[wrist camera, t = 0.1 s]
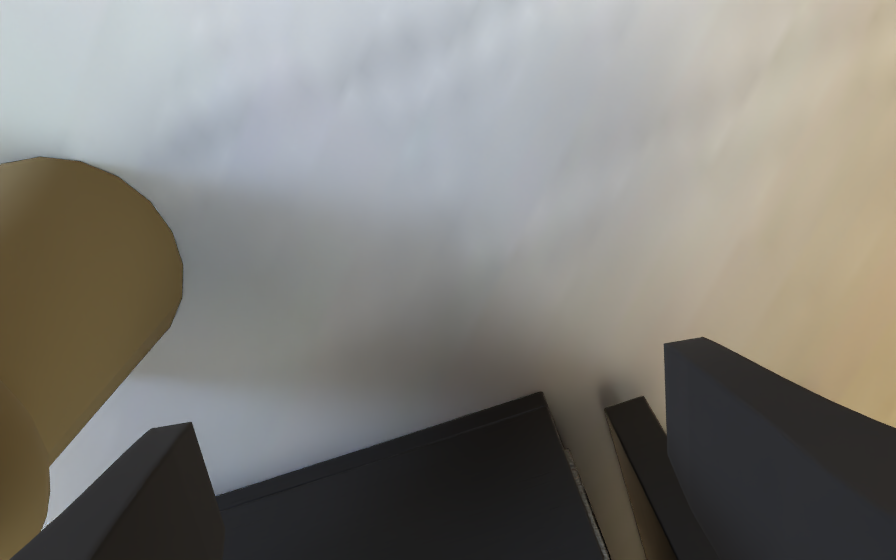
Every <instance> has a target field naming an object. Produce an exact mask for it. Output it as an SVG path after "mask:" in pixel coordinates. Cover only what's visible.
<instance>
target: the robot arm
mask: <svg viewBox="0 0 896 560" xmlns="http://www.w3.org/2000/svg"><path fill="white" fill-rule="evenodd" d="M664 364H665V395H666V426H667V454H668V457H669V459H670V462H671V464H672V467H673V469H674V472H675V474H676V477H677V479H678V482H679V484H680V486H681V489H682V491H683V493H684V496H685V498H686V500H687V503H688V505H689V507H690V509H691V511H692V513H693V515H694V516H695V518H696V520H697V522H698V523H699V525H700V527H701V529H702V530H703V532H704V534H705V535H706V537H707V539H708V541H709V542H710V544H711V546H712V547H713V549H714V551H715V553H716V554H717V556H718V558H719V559H720V560H896V428H894V427H891V426H889V425H886V424H884V423H881V422H879V421H876V420H874V419H871V418H869V417H867V416H864V415H862V414H860V413H858V412H855V411H853V410H851V409H848V408H846V407H844V406H841V405H839V404H837V403H835V402H832V401H830V400H828V399H826V398H824V397H822V396H820V395H818V394H815V393H813V392H811V391H809V390H807V389H805V388H803V387H801V386H799V385H797V384H795V383H793V382H791V381H789V380H787V379H785V378H783V377H781V376H779V375H777V374H775V373H774V372H772V371H770V370H768V369H766V368H764V367H762V366H760V365H758V364H756V363H754V362H753V361H751V360H749V359H747V358H745V357H743V356H741V355H739V354H737V353H735V352H733V351H732V350H730V349H728V348H726V347H724V346H722V345H720V344H718V343H716V342H713V341H711V340H709V339H707V338H704V337H701V338H695V339H689V340H683V341H677V342H671V343H665V344H664ZM224 540H225V526H224V523H223V520H222V517H221V513H220V510H219V507H218V504H217V501H216V498H215V494H214V491H213V488H212V485H211V482H210V479H209V475H208V472H207V469H206V466H205V463H204V460H203V456H202V453H201V450H200V447H199V444H198V441H197V437H196V434H195V431H194V428H193V425H192V422H188V423H182V424H176V425H170V426H164V427H158V428H152V429H150V430H149V431H148V432H146V433H145V434H144V435H143V436H142V437H141V438H139V439H138V440H137V441H136V442H135V443H134V444H133V445H132V446H131V447H130V448H129V449H128V450H127V451H126V452H124V453H123V454H122V455H121V456H120V457H119V458H118V459H117V460H116V461H115V462H114V463H113V464H112V465H111V466H110V467H109V468H108V469H107V470H106V471H105V472H104V473H103V474H102V475H101V476H100V477H99V478H98V479H97V480H96V481H95V482H94V483H93V484H92V485H91V486H89V487H88V488H87V489H86V490H85V491H84V492H83V493H82V494H81V495H80V496H79V497H78V498H77V499H76V500H75V501H74V502H73V503H72V504H71V505H70V506H69V507H68V508H67V509H66V510H64V511H63V512H62V513H61V514H60V515H59V516H58V517H57V518H56V519H55V520H53V521H52V522H51V523H50V524H49V525H48V526H47V527H46V528H44V529H43V530H42V531H41V532H40V533H39V534H38V535H37V536H35V537H34V538H33V539H32V540H31V541H30V542H29V543H27V544H26V545H25V546H24V547H23V548H22V549H21V550H20V551H18V552H17V553H16V554H15V555H14V556H13V557H12V558H11V559H9V560H223V551H224Z"/></svg>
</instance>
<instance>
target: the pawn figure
mask: <svg viewBox="0 0 896 560" xmlns="http://www.w3.org/2000/svg"><path fill="white" fill-rule="evenodd" d="M182 284H183V264H182V261H181V258H180V255H179V252H178V249H177V245H176V242H175V239H174V236H173V233H172V231H171V230H170V228H169V227H168V226H167V224H166V223H165V222H164V220H163V219H162V217H161V216H160V215H159V213H158V212H157V211H156V209H155V208H154V206H153V205H152V204H151V202H150V201H149V200H147V199H146V198H145V197H143V196H142V195H141V194H140V193H138V192H137V191H136V190H134V189H133V188H132V187H131V186H129V185H128V184H127V183H125V182H124V181H123V180H122V179H120V178H119V177H117V176H115V175H112V174H110V173H107V172H105V171H103V170H100V169H98V168H95V167H93V166H90V165H88V164H85V163H83V162H81V161H72V160H63V159H55V158H46V157H36V158H31V159H26V160H20V161H15V162H10V163H4V164H1V165H0V560H9V559H11V558H12V557H13V556H14V555H15V554H16V553H17V552H18V551H20V550H21V549H22V548H23V547H24V546H25V545H26V544H27V543H29V542H30V541H31V540H32V539H33V538H34V537H35V536H37V535H38V534H39V533H40V532H41V529H42V527H43V524H44V522H45V519H46V516H47V511H48V504H49V496H50V477H49V467H50V465H51V464H52V463H53V462H54V461H55V460H56V458H57V457H58V456H59V455H60V454H61V453H62V452H63V450H64V449H65V448H66V447H67V446H68V445H69V443H70V442H71V441H72V440H73V439H74V438H75V436H76V435H77V434H78V433H79V432H80V431H81V429H82V428H83V427H84V426H85V425H86V424H87V423H88V421H89V420H90V419H91V418H92V417H93V416H94V414H95V413H96V412H97V411H98V410H99V409H100V407H101V406H102V405H103V404H104V403H105V402H106V401H107V399H108V398H109V397H110V396H111V395H112V394H113V392H114V391H115V390H116V389H117V388H118V387H119V385H120V384H121V383H122V382H123V381H124V380H125V379H126V377H127V376H128V375H129V374H130V373H131V372H132V370H133V369H134V368H135V367H136V366H137V365H138V363H139V362H140V361H141V360H142V359H143V358H144V356H145V355H146V354H147V353H148V352H149V351H150V350H151V348H152V347H153V346H154V345H155V344H156V343H157V341H158V340H159V339H160V338H161V337H162V336H163V334H164V333H165V332H166V331H167V330H168V329H169V328H170V326H171V324H172V321H173V319H174V316H175V314H176V311H177V309H178V307H179V304H180V302H181V299H182Z"/></svg>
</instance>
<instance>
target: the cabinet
mask: <svg viewBox="0 0 896 560" xmlns="http://www.w3.org/2000/svg"><path fill="white" fill-rule="evenodd" d="M215 498H216V501H217V504H218V507H219V510H220V513H221V517H222V520H223V523H224V526H225V540H224V551H223V560H605V558H604V556H603V553H602V550H601V548H600V545H599V542H598V540H597V537H596V534H595V532H594V529H593V526H592V524H591V521H590V518H589V515H588V513H587V510H586V507H585V505H584V502H583V499H582V497H581V494H580V491H579V489H578V486H577V483H576V481H575V478H574V475H573V472H572V470H571V467H570V464H569V462H568V459H567V456H566V454H565V451H564V448H563V446H562V443H561V440H560V438H559V435H558V432H557V429H556V427H555V424H554V421H553V419H552V416H551V413H550V411H549V408H548V405H547V403H546V400H545V397H544V395H543V393H542V392H538V393H535V394H532V395H529V396H526V397H523V398H520V399H517V400H514V401H511V402H507V403H504V404H501V405H498V406H495V407H492V408H489V409H486V410H483V411H480V412H477V413H473V414H470V415H467V416H464V417H461V418H458V419H455V420H452V421H449V422H446V423H443V424H439V425H436V426H433V427H430V428H427V429H424V430H421V431H418V432H415V433H412V434H408V435H405V436H402V437H399V438H396V439H393V440H390V441H387V442H384V443H381V444H378V445H374V446H371V447H368V448H365V449H362V450H359V451H356V452H353V453H350V454H347V455H344V456H340V457H337V458H334V459H331V460H328V461H325V462H322V463H319V464H316V465H313V466H310V467H306V468H303V469H300V470H297V471H294V472H291V473H288V474H285V475H282V476H279V477H276V478H272V479H269V480H266V481H263V482H260V483H257V484H254V485H251V486H248V487H245V488H241V489H238V490H235V491H232V492H229V493H226V494H223V495H220V496H217V497H215Z"/></svg>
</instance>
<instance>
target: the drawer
mask: <svg viewBox="0 0 896 560" xmlns="http://www.w3.org/2000/svg"><path fill="white" fill-rule="evenodd" d="M605 414H606V417H607V421H608V424H609V428H610V431H611V435H612V438H613V442H614V445H615V449H616V452H617V456H618V459H619V463H620V466H621V470H622V473H623V477H624V480H625V484H626V487H627V491H628V494H629V498H630V502H631V505H632V509H633V512H634V516H635V519H636V523H637V526H638V530H639V533H640V537H641V540H642V544H643V547H644V551H645V554H646V558H647V560H720V559H719V558H718V556H717V554H716V553H715V551H714V549H713V547H712V546H711V544H710V542H709V541H708V539H707V537H706V535H705V534H704V532H703V530H702V529H701V527H700V525H699V523H698V522H697V520H696V518H695V516H694V515H693V513H692V511H691V509H690V507H689V505H688V503H687V500H686V498H685V496H684V493H683V491H682V489H681V486H680V484H679V482H678V479H677V477H676V474H675V472H674V469H673V467H672V464H671V462H670V459H669V457H668V454H667V435H666V433H665V431H664V430H663V428H662V426H661V425H660V423H659V421H658V419H657V418H656V416H655V414H654V413H653V411H652V409H651V407H650V406H649V404H648V402H647V401H646V399H645V397H644V396H641V397H638V398H635V399H632V400H629V401H626V402H623V403H619V404H616V405H613V406H610V407H607V408H605ZM564 451H565V454H566V456H567V459H568V462H569V464H570V467H571V470H572V472H573V475H574V478H575V481H576V483H577V486H578V489H579V491H580V494H581V497H582V499H583V502H584V505H585V507H586V510H587V513H588V515H589V518H590V521H591V524H592V526H593V529H594V532H595V534H596V537H597V540H598V542H599V545H600V548H601V550H602V553H603V556H604V558H605V560H611V557H610V554H609V552H608V549H607V546H606V544H605V541H604V539H603V536H602V533H601V531H600V528H599V526H598V523H597V520H596V518H595V515H594V512H593V510H592V507H591V505H590V502H589V499H588V497H587V494H586V492H585V489H584V486H583V484H582V481H581V478H580V476H579V473H578V471H577V468H576V466H575V463H574V460H573V457H572V455H571V452H570V450H569V449H564Z"/></svg>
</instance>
